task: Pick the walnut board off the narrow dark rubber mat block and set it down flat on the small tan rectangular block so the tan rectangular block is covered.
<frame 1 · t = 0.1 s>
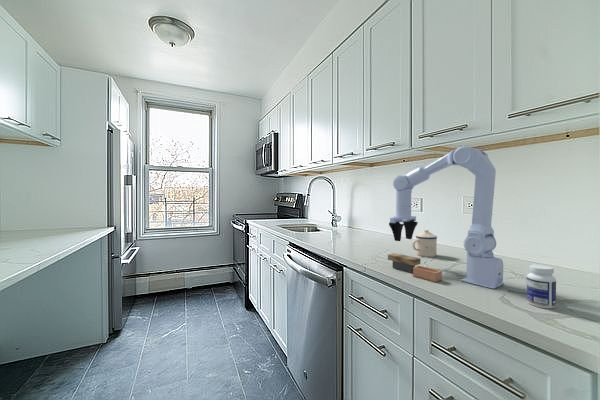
hand: (403, 239, 111), 10 cm above the worktop, fingers open, 7 cm apart
walnut sheet: (403, 261, 104), point 3 cm above the worktop, touching rubber mat block
teacup with lid: (423, 255, 128), on the worktop
pill bottle: (540, 305, 71), on the worktop
rubber mat block: (403, 269, 104), on the worktop
tan rectangular block: (427, 278, 93), on the worktop
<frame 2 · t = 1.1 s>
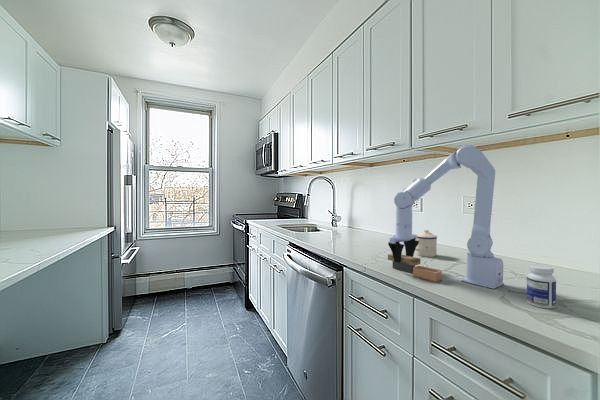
hand: (403, 260, 104), 3 cm above the worktop, fingers open, 7 cm apart
nothing on the worktop moved.
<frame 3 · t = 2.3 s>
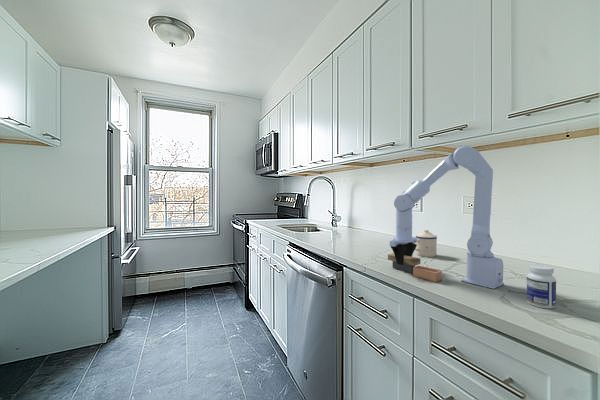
hand: (403, 263, 104), 2 cm above the worktop, fingers closed on walnut sheet, 4 cm apart
walnut sheet: (403, 261, 104), point 3 cm above the worktop, touching gripper, rubber mat block
everything else where it was.
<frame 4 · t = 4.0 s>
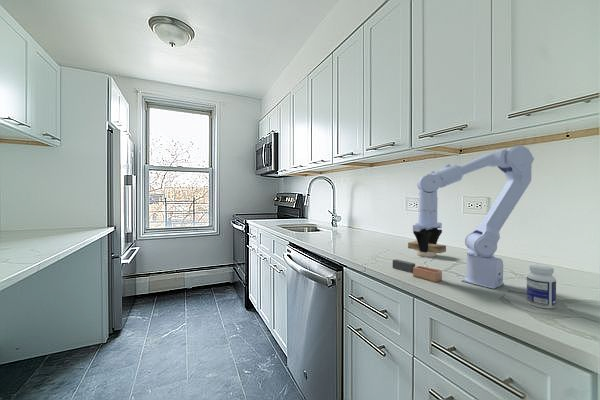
hand: (427, 251, 93), 9 cm above the worktop, fingers closed on walnut sheet, 4 cm apart
walnut sheet: (426, 249, 93), point 10 cm above the worktop, touching gripper
everything else where it was.
when the fingers open (4 cm above the worktop, at t = 5.8 s): walnut sheet stays where it is, resting on tan rectangular block.
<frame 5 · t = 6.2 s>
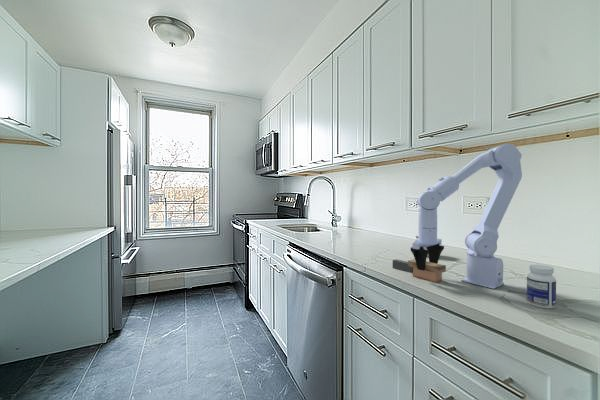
hand: (427, 267, 93), 4 cm above the worktop, fingers open, 7 cm apart
walnut sheet: (426, 268, 93), point 3 cm above the worktop, touching tan rectangular block
everything else where it was.
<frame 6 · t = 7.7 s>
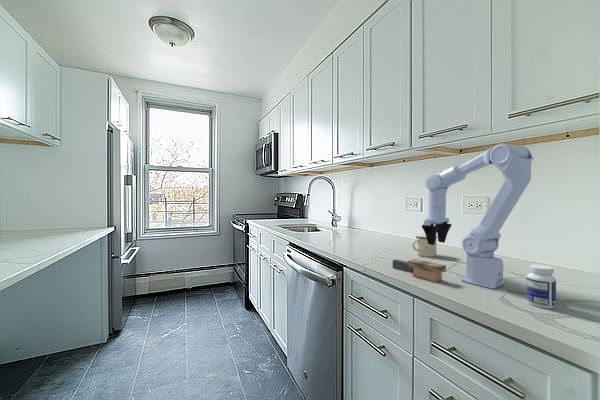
hand: (436, 243, 104), 10 cm above the worktop, fingers open, 7 cm apart
nothing on the worktop moved.
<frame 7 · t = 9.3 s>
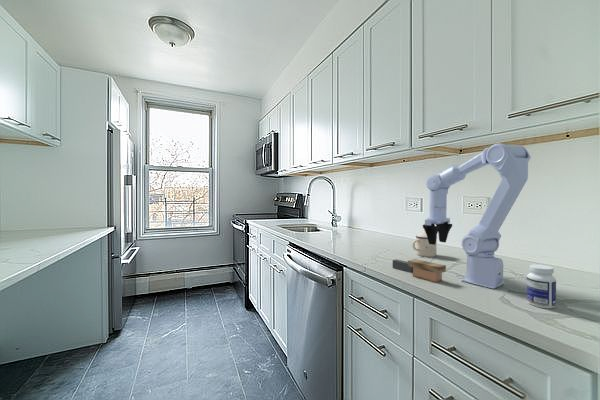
hand: (437, 243, 104), 10 cm above the worktop, fingers open, 7 cm apart
nothing on the worktop moved.
at the end: walnut sheet 0.4 cm off-centre on the tan rectangular block, point 3.2 cm above the tan rectangular block's base; walnut sheet tilted 0°; walnut sheet touching tan rectangular block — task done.
